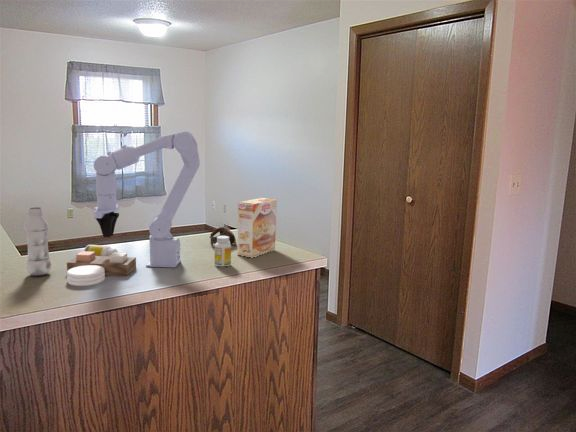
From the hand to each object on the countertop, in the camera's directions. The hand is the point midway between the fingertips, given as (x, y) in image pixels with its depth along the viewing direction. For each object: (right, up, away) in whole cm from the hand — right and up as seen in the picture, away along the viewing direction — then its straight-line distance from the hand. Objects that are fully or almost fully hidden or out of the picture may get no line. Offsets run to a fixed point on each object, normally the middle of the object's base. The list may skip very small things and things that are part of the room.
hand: (108, 236), depth 147 cm
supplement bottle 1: (-9, -6, +5) cm, 12 cm away
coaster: (-1, -13, -14) cm, 19 cm away
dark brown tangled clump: (+32, -5, +32) cm, 46 cm away
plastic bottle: (-16, -11, -10) cm, 22 cm away
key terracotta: (-5, -8, -5) cm, 10 cm away
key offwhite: (+5, -8, -5) cm, 11 cm away
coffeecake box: (+46, -7, +22) cm, 51 cm away
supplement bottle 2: (+36, -10, +6) cm, 37 cm away
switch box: (0, -10, -5) cm, 11 cm away
